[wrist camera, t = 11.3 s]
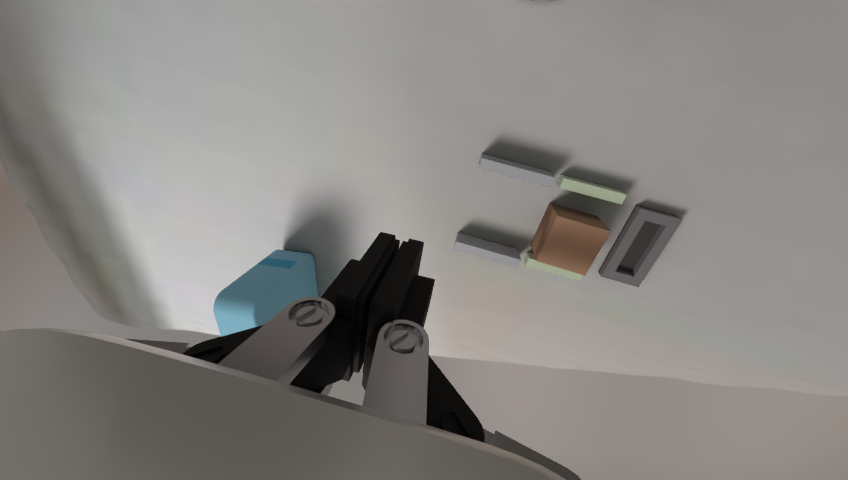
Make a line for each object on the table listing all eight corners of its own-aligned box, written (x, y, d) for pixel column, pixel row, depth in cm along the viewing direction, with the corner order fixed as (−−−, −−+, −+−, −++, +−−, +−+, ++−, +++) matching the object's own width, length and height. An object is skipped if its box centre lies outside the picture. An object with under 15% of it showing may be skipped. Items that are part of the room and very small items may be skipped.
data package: (281, 244, 41) (208, 299, 30) (313, 249, 40) (251, 305, 29) (293, 318, 46) (234, 387, 35) (322, 323, 45) (272, 394, 35)
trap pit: (636, 205, 31) (640, 208, 30) (676, 216, 31) (682, 219, 30) (598, 271, 35) (601, 276, 34) (634, 281, 34) (638, 286, 34)
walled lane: (481, 153, 32) (481, 158, 29) (550, 171, 31) (555, 177, 29) (455, 239, 36) (453, 249, 34) (515, 256, 36) (517, 267, 33)
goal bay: (560, 174, 31) (563, 178, 30) (620, 190, 31) (627, 194, 29) (523, 259, 36) (525, 265, 34) (576, 274, 35) (579, 281, 34)
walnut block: (549, 202, 33) (557, 215, 29) (596, 216, 32) (610, 231, 29) (530, 243, 35) (535, 260, 31) (574, 256, 35) (584, 275, 31)
